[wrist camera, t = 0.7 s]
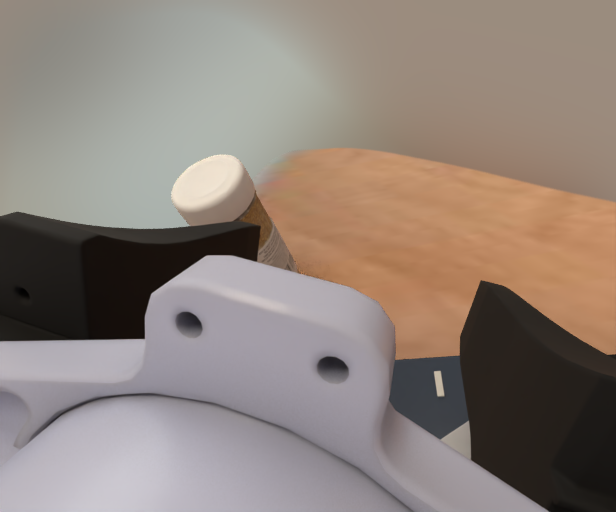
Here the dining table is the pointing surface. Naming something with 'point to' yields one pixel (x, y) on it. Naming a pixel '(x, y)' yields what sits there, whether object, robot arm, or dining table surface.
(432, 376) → the base
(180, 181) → the spice jar
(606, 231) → the dining table surface
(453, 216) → the dining table surface
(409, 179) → the dining table surface
